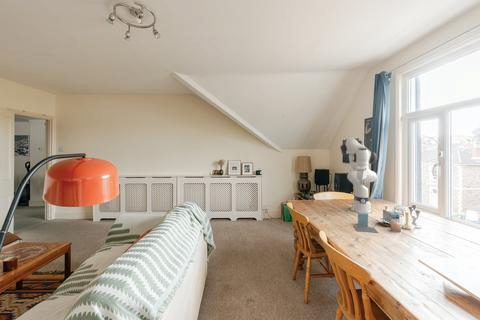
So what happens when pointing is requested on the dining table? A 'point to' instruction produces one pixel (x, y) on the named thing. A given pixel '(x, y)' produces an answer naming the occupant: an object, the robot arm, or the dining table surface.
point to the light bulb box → (391, 215)
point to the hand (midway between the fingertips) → (362, 184)
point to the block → (363, 219)
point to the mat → (365, 229)
